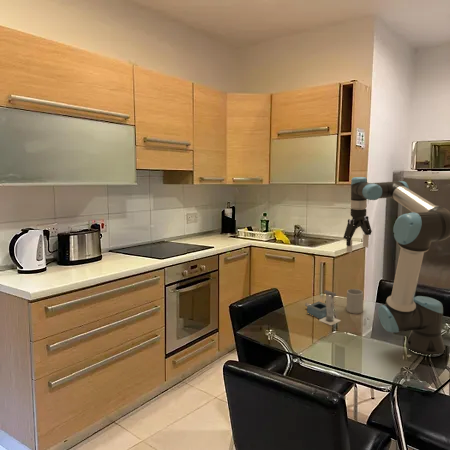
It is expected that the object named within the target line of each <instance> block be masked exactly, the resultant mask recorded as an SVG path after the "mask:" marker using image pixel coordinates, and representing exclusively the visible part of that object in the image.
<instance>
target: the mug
mask: <svg viewBox="0 0 450 450" xmlns="http://www.w3.org/2000/svg"><path fill="white" fill-rule="evenodd" d="M345 308H346V311H347V312H348V313H350V314H355V315H356V314H361V313H363V312H364V291H363V290H361V289H359V288H349V289H347V290H346V307H345Z"/></svg>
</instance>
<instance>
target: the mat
mask: <svg viewBox="0 0 450 450" xmlns="http://www.w3.org/2000/svg"><path fill="white" fill-rule="evenodd" d="M318 322H320V323H324V324H326V325H329V326H334V325H336V324H337V323H340V322H342V320H341V319H339V318H335V317H334V321H332V322H328V321H326V317H324V318H322V319H319V320H318Z"/></svg>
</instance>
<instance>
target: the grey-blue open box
mask: <svg viewBox="0 0 450 450" xmlns="http://www.w3.org/2000/svg"><path fill="white" fill-rule="evenodd" d="M304 306H306V307H307V308H306V311H307V312H306V313H309V314H311V315H310V316H312V315H313V316H312V317H314V318H317V319H319V320H320V319H322V318H324V317H326V302H325V303H324V302H322V301H317V302H313V303H312V304H311V303H308V302H306V303H305V304H304ZM309 314H308V315H309Z"/></svg>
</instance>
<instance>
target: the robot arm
mask: <svg viewBox="0 0 450 450" xmlns="http://www.w3.org/2000/svg"><path fill="white" fill-rule="evenodd" d="M378 199H392V200H394V201H396V202H397V204H400V205H401V206H402V207H404V208H406V209H407V210H408V211H410V212H409V213H403V214H401V215H399V216H398V217H397V218H396V220H395V221H394V222H395V223H394V225H393V230H392V231H393V233H394V234H393V237H394V240H395V242H396V243H397V245H398V247H399V253H398V258H397V259H398V260H397V264H396V265H397V266H396V270H395V275H394V281H393V286H392V291H391V294H390V295H389V296H387V298H386V301H385V304H382V305H379V307H378V310H377V311H378V313H377V315H378V319H379V321H380V324H381V326H382V327H383V329H384V330H385V331H386V332H388V333H399V332H400V333H401V332H409V331H410V333H409V336H408V337H407V340H406V348H407V350H408V349H410V350H412V351H414V352H417V353H421V354H428V355H430V354H432V355H433V354H439V353H442V352H443V351H444V350H445V351H446V346H445V343H444V339H443V337H442V331H443V330H442V328H443V317H444V316H443V315H444V307H443V303H442V302H441V301H439V300H437V299H435V298H433V297H429V296H424V295H423V296H422V295H416V290H417V287H418V282H419V278H420V277H419V276H420V272H421V270H422V269H421V268H422V264H423V259H424V255H425V253H426V252H428V251H429V250H430V248H431V244H432V242H433V243H434V242H441V241H444V240H447V239H448V238H450V210H449V209H447V208H445V207H443V206H441V205H436V204H434V203H432V202H431V201H429V200H427V199H426V198H424V197H422V196H421V195H419V194H418V193H416V192H414V191H412V190H411V189H410V188H409V184H408V183H407V182H406V181H403V180H402V181H401V180H400V181H399V180H397V181H396V180H395V181H386V182H384V181H382V182H368V178H367V177H365V176H356V177H355V176H354V177H352V178H351V181H350V216H351V217H352V218H351V219H349V218H348V219H347V224H346V228H345V231H344V234H343V239H345V240H346V252H347V253H353V239H352V238H353V236H354V234H355V232H356V230H357V229H358V228H361V231H362V233H363V234H362V236H363V237H362V247H363V248H369V240H370V239H369V237H370V236H371V235H372V232H373V231H372V228H371V227H372V226H371V224H370V221H369V219H370V218H369V216H368V215H367V206H368V204H367V202H368V201H376V200H378Z"/></svg>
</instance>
